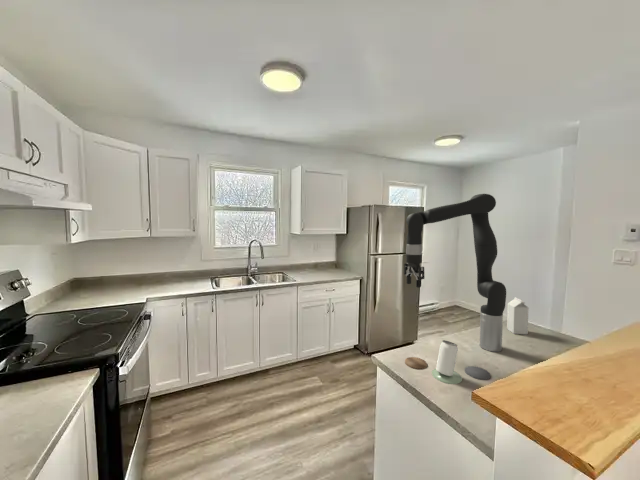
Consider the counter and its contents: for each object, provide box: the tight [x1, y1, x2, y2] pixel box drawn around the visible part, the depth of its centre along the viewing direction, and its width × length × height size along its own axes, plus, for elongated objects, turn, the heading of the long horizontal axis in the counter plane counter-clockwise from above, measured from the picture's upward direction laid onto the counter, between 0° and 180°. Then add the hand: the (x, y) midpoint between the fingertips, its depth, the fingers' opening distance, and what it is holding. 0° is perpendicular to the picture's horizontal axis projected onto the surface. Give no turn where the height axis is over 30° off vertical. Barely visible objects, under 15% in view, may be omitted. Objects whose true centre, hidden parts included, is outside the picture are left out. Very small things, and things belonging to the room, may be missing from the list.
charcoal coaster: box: [464, 365, 491, 381], centre depth 110 cm, size 9×9×1 cm
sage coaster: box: [431, 368, 463, 385], centre depth 108 cm, size 11×11×1 cm
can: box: [435, 340, 459, 376], centre depth 109 cm, size 6×6×12 cm
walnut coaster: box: [404, 356, 428, 370], centre depth 118 cm, size 9×9×1 cm
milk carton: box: [506, 296, 529, 335], centre depth 151 cm, size 7×7×19 cm
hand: (413, 285), depth 135 cm, fingers open, 8 cm apart
